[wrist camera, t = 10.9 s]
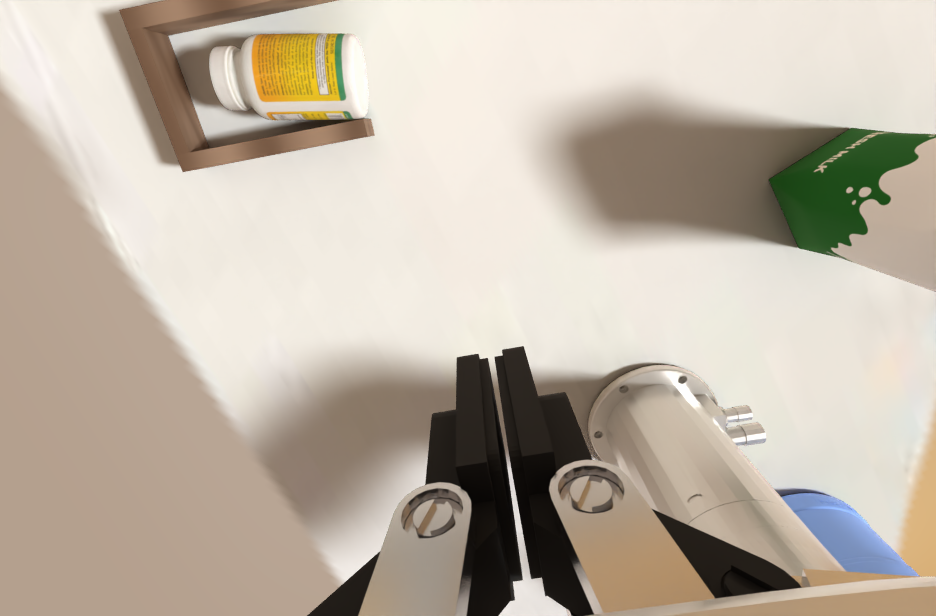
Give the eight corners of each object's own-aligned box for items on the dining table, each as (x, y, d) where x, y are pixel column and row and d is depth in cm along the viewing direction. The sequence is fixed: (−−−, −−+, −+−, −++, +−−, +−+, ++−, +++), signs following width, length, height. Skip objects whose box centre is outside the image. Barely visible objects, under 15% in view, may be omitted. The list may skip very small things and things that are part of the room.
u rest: (337, -21, 33) (326, -34, 30) (374, 135, 36) (367, 136, 34) (147, 19, 33) (119, 10, 30) (203, 168, 37) (182, 172, 34)
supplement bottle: (367, 134, 34) (235, 138, 34) (371, 80, 36) (247, 83, 36) (350, 72, 29) (195, 75, 29) (355, 13, 31) (211, 16, 31)
